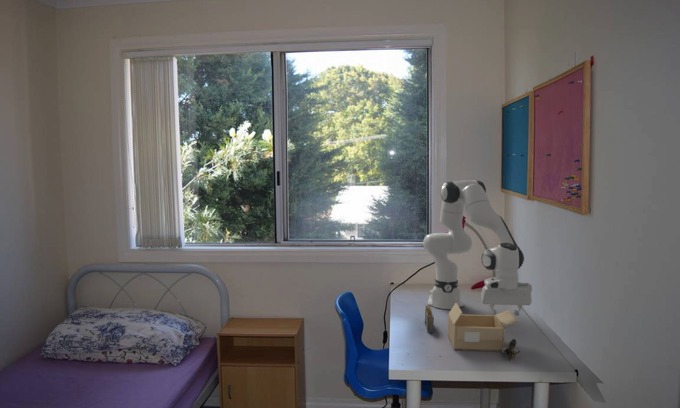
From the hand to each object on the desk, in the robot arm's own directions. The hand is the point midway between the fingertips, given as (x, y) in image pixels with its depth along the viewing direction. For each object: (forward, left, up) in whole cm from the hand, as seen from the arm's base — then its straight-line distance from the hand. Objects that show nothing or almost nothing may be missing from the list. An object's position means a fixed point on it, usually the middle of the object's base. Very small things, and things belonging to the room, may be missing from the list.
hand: (505, 314), depth 201 cm
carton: (0, -12, -13) cm, 18 cm away
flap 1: (0, -22, -3) cm, 22 cm away
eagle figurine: (+12, -1, -13) cm, 18 cm away
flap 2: (0, -2, -3) cm, 4 cm away
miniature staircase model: (-17, -29, -14) cm, 37 cm away
